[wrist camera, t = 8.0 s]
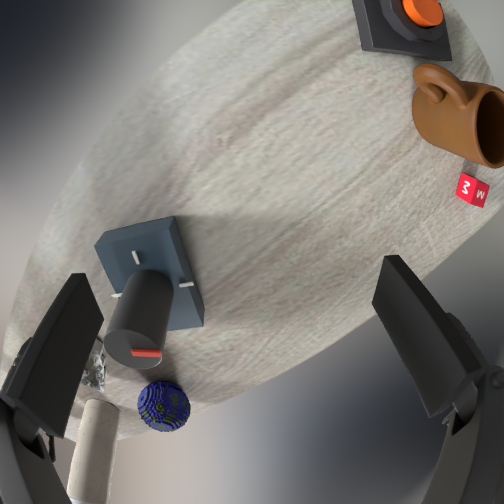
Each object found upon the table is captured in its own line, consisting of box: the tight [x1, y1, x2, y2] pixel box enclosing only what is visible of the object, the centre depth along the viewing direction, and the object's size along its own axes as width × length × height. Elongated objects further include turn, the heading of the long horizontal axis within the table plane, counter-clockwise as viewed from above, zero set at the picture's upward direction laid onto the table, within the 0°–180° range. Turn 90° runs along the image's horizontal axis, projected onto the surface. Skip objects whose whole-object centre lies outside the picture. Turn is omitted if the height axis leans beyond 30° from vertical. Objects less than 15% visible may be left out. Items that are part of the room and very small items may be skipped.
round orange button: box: [402, 0, 443, 27], centre depth 13 cm, size 4×4×2 cm
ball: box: [137, 382, 191, 432], centre depth 37 cm, size 8×8×8 cm
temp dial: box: [103, 270, 174, 369], centre depth 23 cm, size 5×5×8 cm
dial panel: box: [94, 216, 204, 331], centre depth 28 cm, size 12×9×3 cm
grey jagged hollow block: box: [80, 338, 107, 393], centre depth 34 cm, size 11×8×4 cm
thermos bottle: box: [67, 399, 122, 504], centre depth 33 cm, size 8×8×28 cm
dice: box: [455, 173, 490, 208], centre depth 26 cm, size 3×3×3 cm
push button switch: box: [352, 0, 452, 61], centre depth 16 cm, size 8×10×4 cm
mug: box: [412, 63, 504, 169], centre depth 18 cm, size 12×8×9 cm, turn 69°
